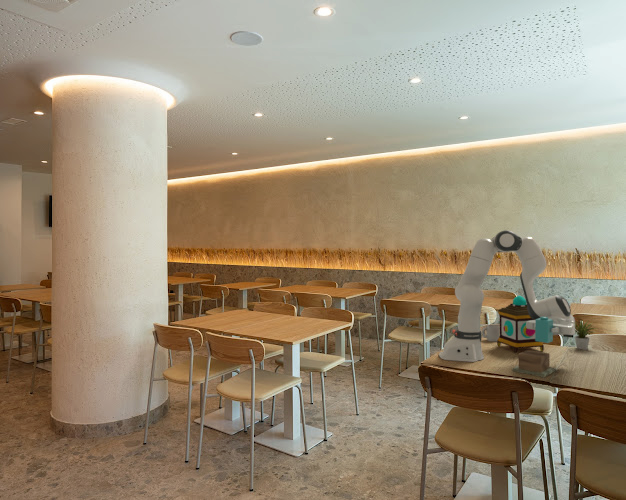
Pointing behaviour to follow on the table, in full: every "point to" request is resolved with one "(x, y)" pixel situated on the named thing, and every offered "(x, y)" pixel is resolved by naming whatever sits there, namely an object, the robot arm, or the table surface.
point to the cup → (491, 333)
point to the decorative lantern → (516, 326)
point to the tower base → (534, 363)
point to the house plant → (583, 335)
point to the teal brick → (543, 330)
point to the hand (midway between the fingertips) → (543, 329)
